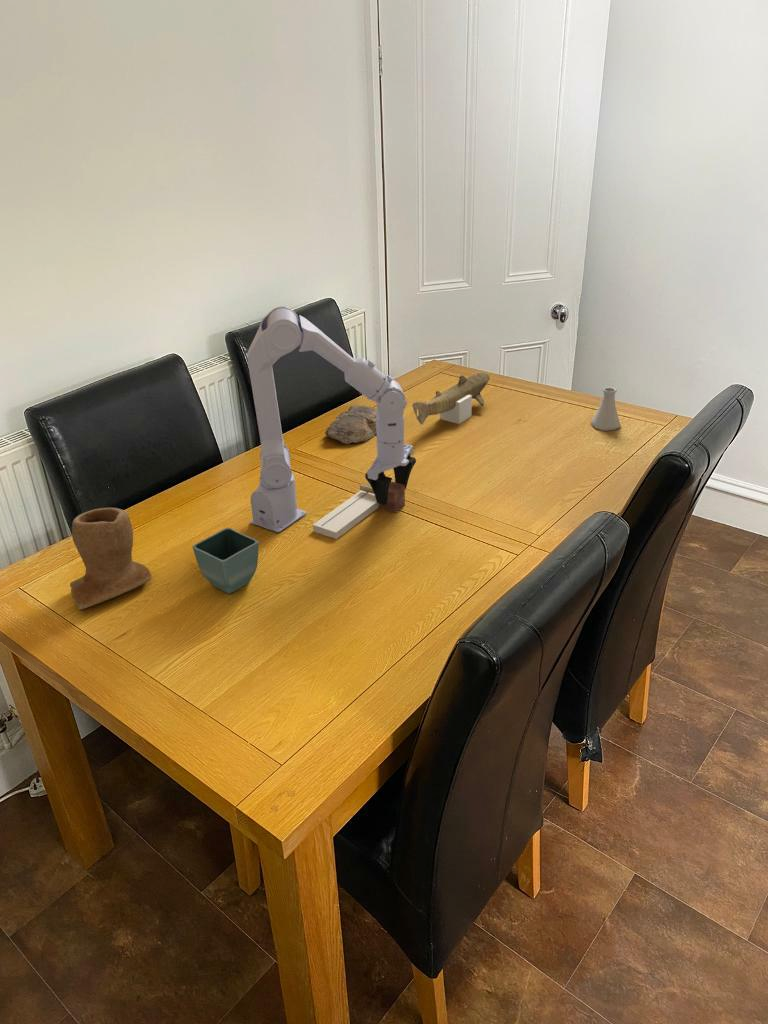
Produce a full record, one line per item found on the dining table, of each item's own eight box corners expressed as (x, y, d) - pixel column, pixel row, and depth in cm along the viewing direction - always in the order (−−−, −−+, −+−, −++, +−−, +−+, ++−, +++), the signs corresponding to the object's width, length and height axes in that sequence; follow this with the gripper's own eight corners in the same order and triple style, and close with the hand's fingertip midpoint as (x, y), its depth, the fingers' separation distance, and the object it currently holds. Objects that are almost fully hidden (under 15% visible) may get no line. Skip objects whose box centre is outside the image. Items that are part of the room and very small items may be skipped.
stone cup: (133, 559, 160) (118, 493, 152) (160, 585, 152) (146, 516, 144) (57, 589, 152) (37, 520, 144) (81, 618, 143) (62, 547, 136)
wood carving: (398, 439, 205) (398, 398, 200) (471, 396, 229) (472, 358, 223) (428, 448, 200) (428, 406, 195) (499, 402, 224) (501, 364, 219)
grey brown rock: (354, 452, 200) (398, 423, 214) (353, 434, 198) (397, 406, 212) (310, 441, 207) (355, 414, 221) (308, 424, 205) (354, 397, 219)
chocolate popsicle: (394, 513, 173) (394, 492, 170) (356, 501, 178) (355, 481, 175) (404, 505, 176) (404, 485, 173) (367, 494, 181) (366, 474, 178)
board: (336, 539, 164) (336, 532, 163) (313, 531, 167) (312, 524, 166) (395, 494, 180) (395, 487, 179) (373, 487, 183) (372, 481, 182)
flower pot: (233, 565, 157) (227, 526, 152) (264, 581, 152) (259, 540, 148) (197, 586, 151) (190, 546, 147) (229, 603, 146) (223, 562, 142)
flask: (585, 423, 211) (589, 387, 206) (607, 418, 213) (612, 382, 208) (603, 433, 205) (607, 396, 200) (625, 428, 208) (630, 391, 203)
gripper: (387, 455, 160) (388, 515, 167) (425, 430, 170) (424, 486, 177) (358, 447, 163) (360, 506, 170) (397, 423, 174) (397, 479, 181)
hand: (391, 496), depth 174 cm, fingers open, 7 cm apart
